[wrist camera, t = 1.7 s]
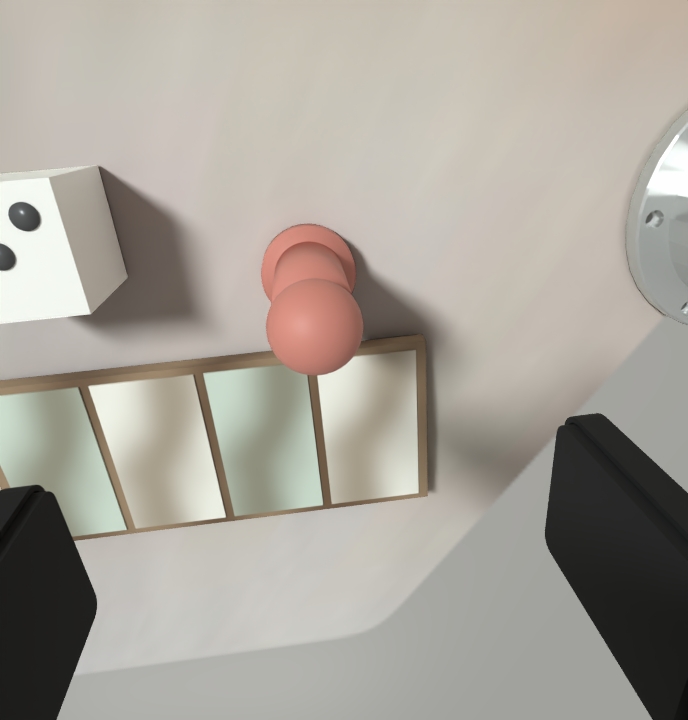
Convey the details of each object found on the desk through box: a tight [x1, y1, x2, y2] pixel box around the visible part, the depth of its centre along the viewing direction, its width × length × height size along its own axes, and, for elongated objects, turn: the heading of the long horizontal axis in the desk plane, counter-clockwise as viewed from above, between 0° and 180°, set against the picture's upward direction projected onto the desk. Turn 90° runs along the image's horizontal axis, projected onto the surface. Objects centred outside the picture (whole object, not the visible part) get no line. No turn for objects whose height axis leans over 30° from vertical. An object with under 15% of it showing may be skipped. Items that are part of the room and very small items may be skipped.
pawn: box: [261, 224, 363, 376], centre depth 21 cm, size 4×4×9 cm
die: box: [0, 165, 128, 324], centre depth 21 cm, size 5×5×5 cm
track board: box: [0, 334, 428, 541], centre depth 28 cm, size 23×10×1 cm, turn 94°
